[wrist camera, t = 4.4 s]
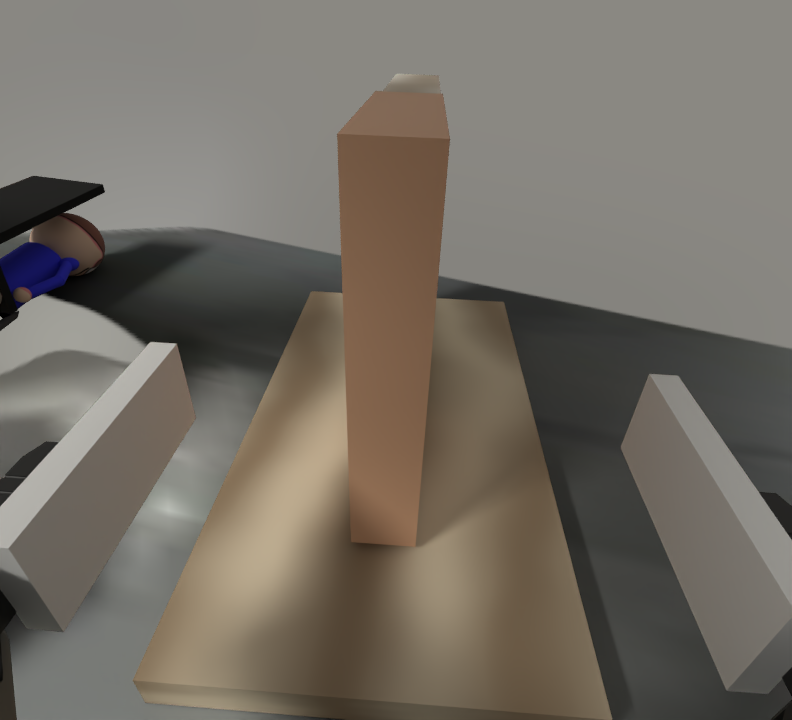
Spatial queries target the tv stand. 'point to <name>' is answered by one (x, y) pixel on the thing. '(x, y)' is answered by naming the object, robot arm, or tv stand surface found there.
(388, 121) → the orange rectangular panel
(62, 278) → the figurine character
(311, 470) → the stand
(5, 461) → the tv stand surface
